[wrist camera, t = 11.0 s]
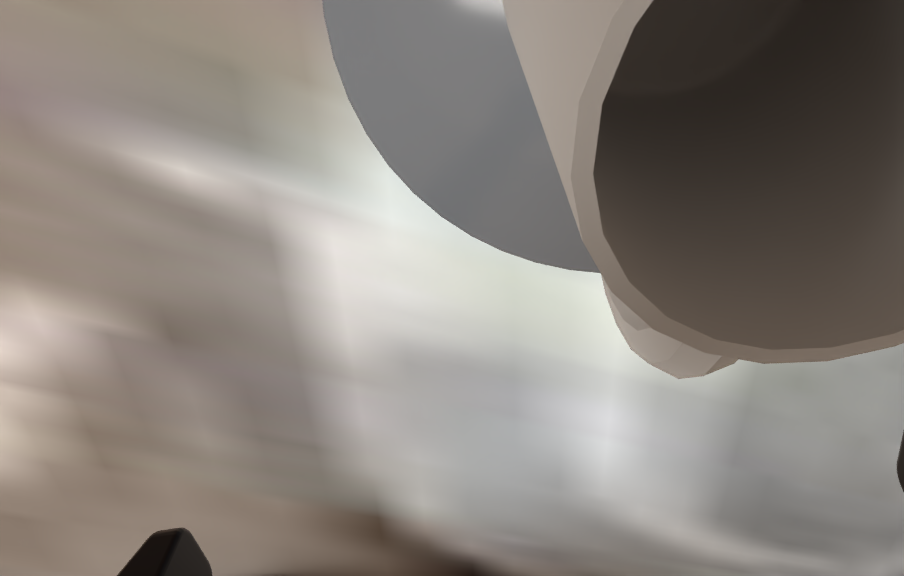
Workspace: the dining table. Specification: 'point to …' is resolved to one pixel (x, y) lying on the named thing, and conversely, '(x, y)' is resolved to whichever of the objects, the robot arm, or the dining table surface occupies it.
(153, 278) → the dining table surface
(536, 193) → the saucer
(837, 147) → the cup
